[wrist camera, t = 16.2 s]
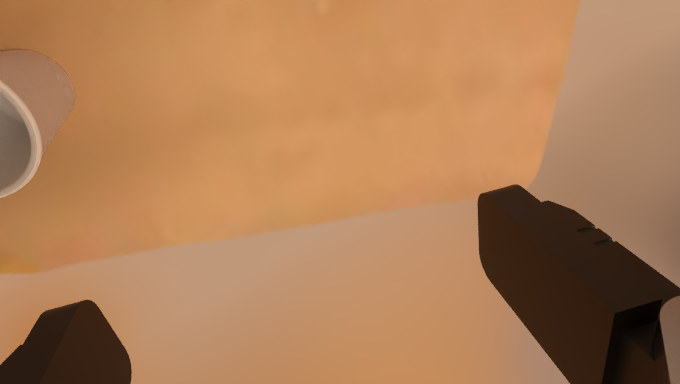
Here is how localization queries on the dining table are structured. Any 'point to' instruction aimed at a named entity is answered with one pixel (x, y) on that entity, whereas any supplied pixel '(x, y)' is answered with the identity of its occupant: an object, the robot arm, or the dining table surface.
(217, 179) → the dining table surface
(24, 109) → the dixie cup
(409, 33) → the dining table surface
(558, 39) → the dining table surface
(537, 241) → the robot arm
